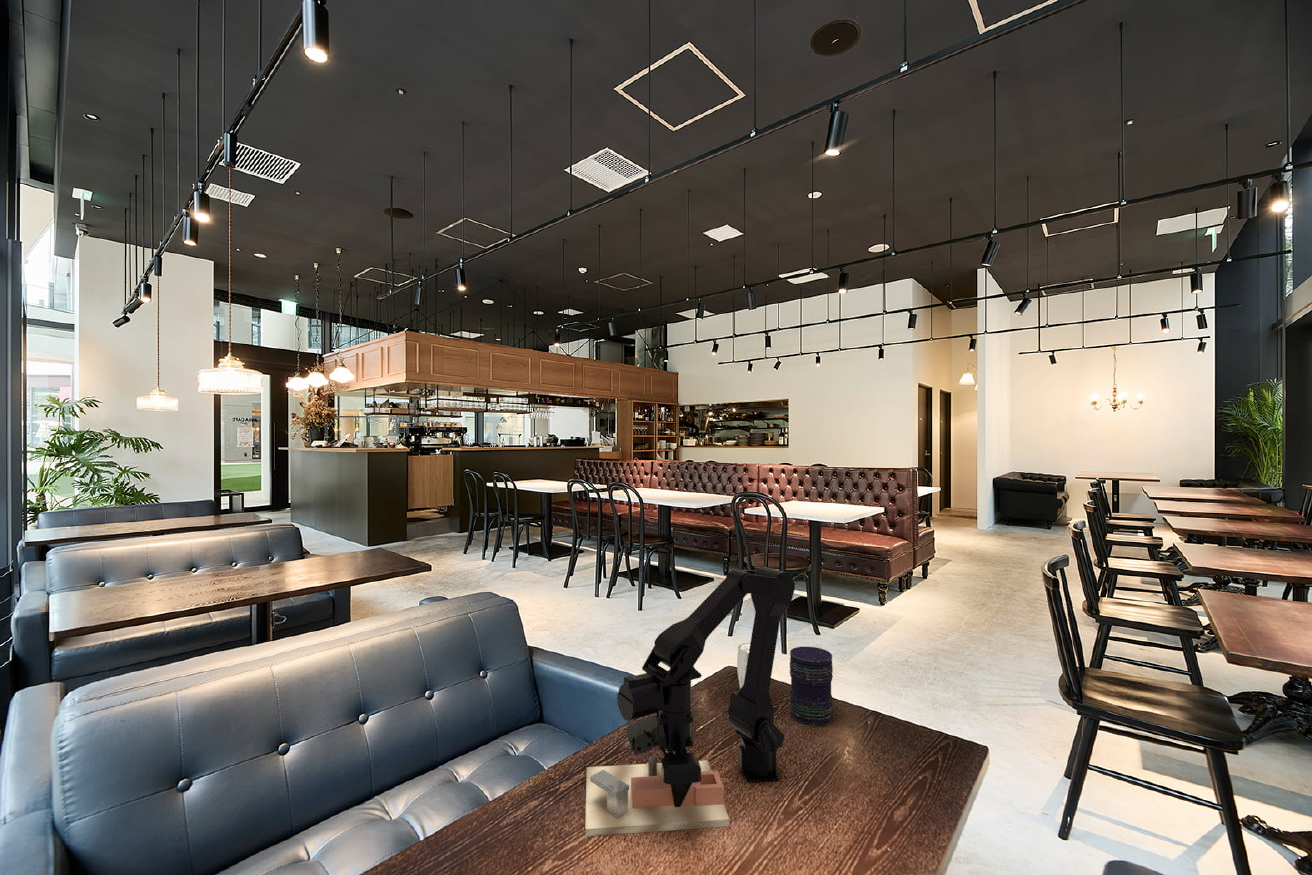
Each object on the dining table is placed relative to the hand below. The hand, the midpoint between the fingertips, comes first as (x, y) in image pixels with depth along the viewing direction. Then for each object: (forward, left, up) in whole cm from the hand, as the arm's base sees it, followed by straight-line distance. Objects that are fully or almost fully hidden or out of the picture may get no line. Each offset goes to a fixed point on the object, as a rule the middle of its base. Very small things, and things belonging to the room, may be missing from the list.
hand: (674, 794), depth 101 cm
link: (0, 0, -1) cm, 1 cm away
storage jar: (-37, -29, -2) cm, 47 cm away
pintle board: (+4, -2, -2) cm, 5 cm away
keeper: (+12, +1, -1) cm, 12 cm away
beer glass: (-24, -34, -2) cm, 42 cm away
